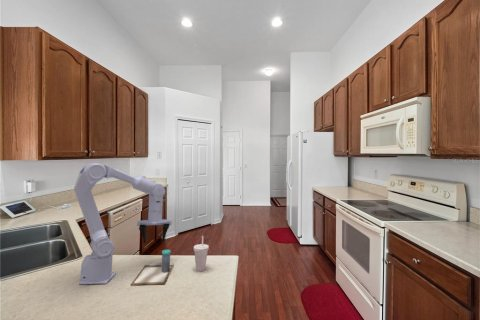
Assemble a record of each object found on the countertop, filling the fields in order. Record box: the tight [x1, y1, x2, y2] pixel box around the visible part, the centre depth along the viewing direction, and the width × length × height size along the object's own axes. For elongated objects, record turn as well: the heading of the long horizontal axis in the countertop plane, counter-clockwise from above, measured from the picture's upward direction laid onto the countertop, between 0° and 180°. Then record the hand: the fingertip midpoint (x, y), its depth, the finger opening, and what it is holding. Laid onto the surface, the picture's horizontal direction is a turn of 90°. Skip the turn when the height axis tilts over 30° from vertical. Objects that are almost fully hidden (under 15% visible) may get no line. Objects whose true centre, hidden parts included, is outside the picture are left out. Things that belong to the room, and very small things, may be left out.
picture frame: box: [130, 262, 174, 287], centre depth 88 cm, size 12×16×1 cm
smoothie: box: [193, 235, 210, 273], centre depth 93 cm, size 6×6×14 cm
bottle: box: [161, 249, 172, 273], centre depth 90 cm, size 3×3×8 cm
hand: (154, 241), depth 97 cm, fingers open, 7 cm apart
